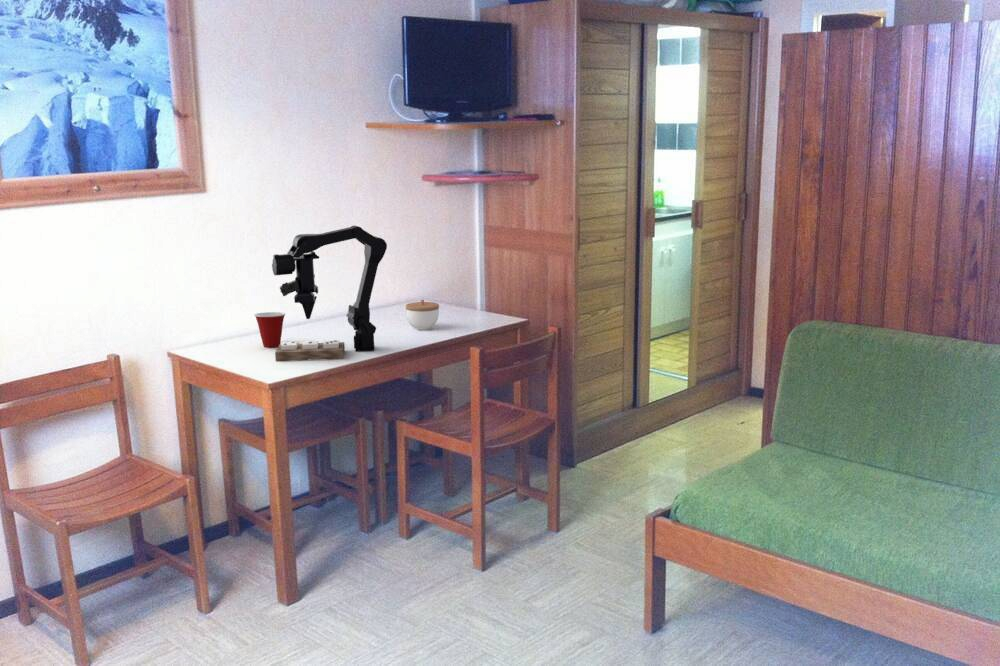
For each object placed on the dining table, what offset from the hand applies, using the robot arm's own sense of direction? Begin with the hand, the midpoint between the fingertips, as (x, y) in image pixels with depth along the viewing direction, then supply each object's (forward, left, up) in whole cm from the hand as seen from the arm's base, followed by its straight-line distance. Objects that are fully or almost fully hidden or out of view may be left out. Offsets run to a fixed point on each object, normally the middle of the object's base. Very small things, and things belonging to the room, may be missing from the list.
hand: (308, 318), depth 319 cm
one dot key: (0, 0, -10) cm, 10 cm away
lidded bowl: (-39, -39, -13) cm, 57 cm away
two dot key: (+7, 0, -10) cm, 12 cm away
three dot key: (-7, 0, -10) cm, 12 cm away
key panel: (0, 0, -13) cm, 13 cm away
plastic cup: (+15, -17, -13) cm, 26 cm away
